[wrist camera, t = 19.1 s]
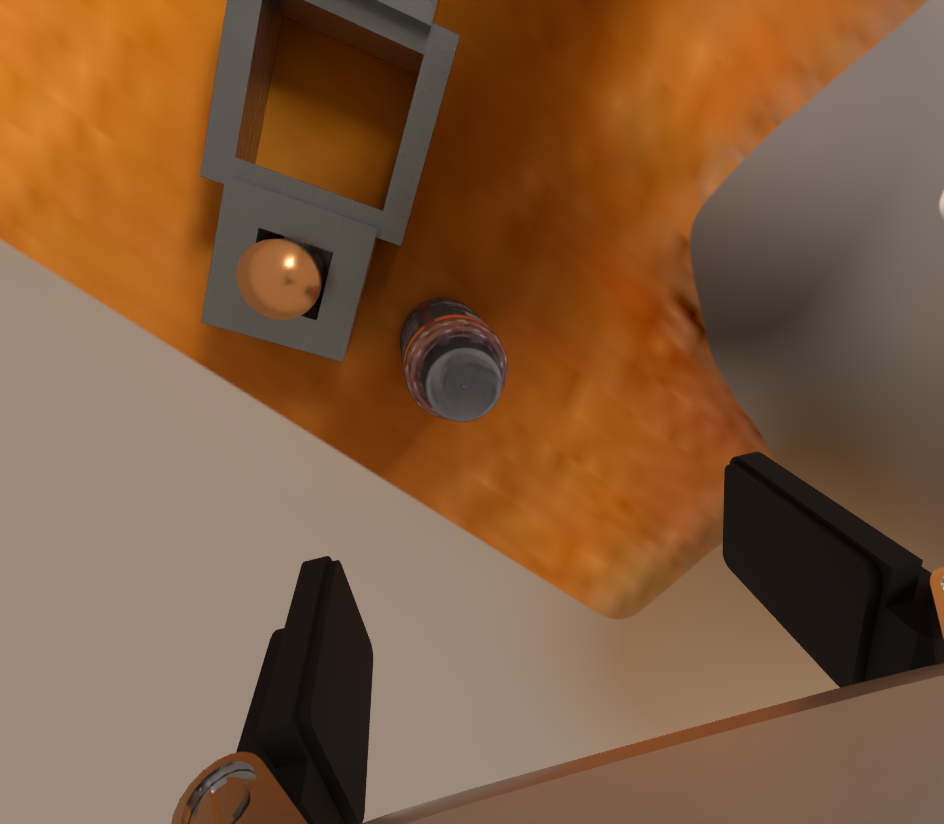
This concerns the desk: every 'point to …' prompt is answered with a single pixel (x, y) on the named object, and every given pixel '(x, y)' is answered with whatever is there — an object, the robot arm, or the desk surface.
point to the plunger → (280, 278)
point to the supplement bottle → (452, 360)
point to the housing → (298, 203)
